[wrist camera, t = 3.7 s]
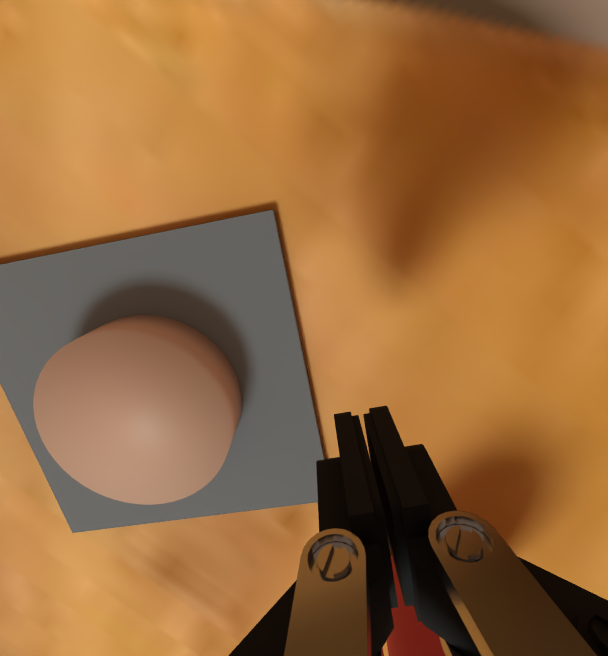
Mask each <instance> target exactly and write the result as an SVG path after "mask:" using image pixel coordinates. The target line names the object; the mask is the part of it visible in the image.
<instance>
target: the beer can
mask: <svg viewBox="0 0 608 656" xmlns="http://www.w3.org/2000/svg"><path fill="white" fill-rule="evenodd" d="M391 562H392V568H393V575H394V582H395V588H396V595H397V601H398V608H391V610H392V616H393V622H394V629H393V631H392V632H391V634H390V636H389V637H388V639H387V646H388V652H389V656H446V655H445V653H444V651H443V648H442V645H441V642H440V639H439V636H438V635H437V634H436V633H434V632H433V631H431V630H430V629H429V628H427V627H426V626H425V625H423V624H422V621H421V622H418V620H417V616H416V613H415V609H414V606H405V604H404V600H403V596H402V592H401V588H400V584H399V581H398V577H397V573H396V569H395V565H394V561H393V557H392V555H391Z"/></svg>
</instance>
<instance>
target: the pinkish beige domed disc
mask: <svg viewBox="0 0 608 656" xmlns="http://www.w3.org/2000/svg"><path fill="white" fill-rule="evenodd" d="M241 408H242V398H241V390H240V385H239V382H238V379H237V376H236V373H235V371H234V369H233V367H232V365H231V363H230V362H229V361H228V359H227V358H226V356H225V355H224V353H223V352H222V351H221V350H220V349H219V348H218V346H217V345H216V344H214V343H213V342H212V341H211V340H210V339H209V338H208V337H206V336H205V335H204V334H202V333H201V332H199V331H198V330H196V329H194V328H192V327H191V326H189V325H187V324H185V323H182V322H180V321H177V320H174V319H170V318H167V317H163V316H155V315H133V316H127V317H123V318H119V319H116V320H113V321H111V322H109V323H106V324H104V325H102V326H100V327H99V328H97V329H95V330H93V331H91V332H89V333H87V334H85V335H83V336H81V337H79V338H77V339H75V340H74V341H72V342H70V343H68V344H67V345H65V346H64V347H62V348H61V349H60V350H58V351H57V352H56V353H55V354H54V355H53V356H52V357H51V358H50V359H49V360H48V362H47V363H46V364H45V366H44V368H43V369H42V371H41V373H40V375H39V377H38V380H37V382H36V386H35V391H34V399H33V409H34V418H35V422H36V426H37V429H38V432H39V434H40V437H41V439H42V441H43V443H44V445H45V447H46V449H47V450H48V452H49V453H50V454H51V456H52V457H53V459H54V460H55V461H56V462H57V463H58V464H59V466H60V467H61V468H62V469H63V470H64V471H65V472H67V473H68V474H69V475H70V476H71V477H72V478H74V479H75V480H76V481H78V482H79V483H80V484H82V485H83V486H85V487H87V488H89V489H90V490H92V491H94V492H96V493H98V494H101V495H103V496H105V497H108V498H111V499H114V500H118V501H122V502H126V503H132V504H143V505H154V504H164V503H169V502H174V501H177V500H180V499H183V498H186V497H188V496H190V495H192V494H194V493H196V492H197V491H199V490H200V489H202V488H203V487H204V486H205V485H207V484H208V483H209V482H210V481H211V480H212V479H213V478H214V477H215V475H216V474H217V473H218V472H219V470H220V468H221V467H222V465H223V463H224V461H225V458H226V456H227V454H228V451H229V448H230V445H231V443H232V440H233V437H234V435H235V432H236V429H237V426H238V424H239V420H240V416H241Z"/></svg>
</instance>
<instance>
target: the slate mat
mask: <svg viewBox="0 0 608 656" xmlns="http://www.w3.org/2000/svg"><path fill="white" fill-rule="evenodd" d="M133 315H155V316H163V317H167V318H170V319H174V320H177V321H180V322H182V323H185V324H187V325H189V326H191V327H192V328H194V329H196V330H198V331H199V332H201V333H202V334H204V335H205V336H206V337H208V338H209V339H210V340H211V341H212V342H213V343H214V344H216V345H217V346H218V348H219V349H220V350H221V351H222V352H223V353H224V355H225V356H226V358H227V359H228V361H229V362H230V363H231V365H232V367H233V369H234V371H235V373H236V376H237V379H238V382H239V385H240V390H241V398H242V408H241V416H240V420H239V424H238V426H237V429H236V432H235V435H234V437H233V440H232V443H231V445H230V448H229V451H228V454H227V456H226V458H225V461H224V463H223V465H222V467H221V468H220V470H219V472H218V473H217V474H216V475H215V477H214V478H213V479H212V480H211V481H210V482H209V483H208V484H207V485H205V486H204V487H203V488H202V489H200V490H199V491H197V492H196V493H194V494H192V495H190V496H188V497H186V498H183V499H180V500H177V501H174V502H169V503H164V504H154V505H143V504H132V503H126V502H122V501H118V500H114V499H111V498H108V497H105V496H103V495H101V494H98V493H96V492H94V491H92V490H90V489H89V488H87V487H85V486H83V485H82V484H80V483H79V482H78V481H76V480H75V479H74V478H72V477H71V476H70V475H69V474H68V473H67V472H65V471H64V470H63V469H62V468H61V467H60V466H59V464H58V463H57V462H56V461H55V460H54V459H53V457H52V456H51V454H50V453H49V452H48V450H47V449H46V447H45V445H44V443H43V441H42V439H41V437H40V434H39V432H38V429H37V426H36V422H35V418H34V409H33V399H34V391H35V386H36V382H37V380H38V377H39V375H40V373H41V371H42V369H43V368H44V366H45V364H46V363H47V362H48V360H49V359H50V358H51V357H52V356H53V355H54V354H55V353H56V352H57V351H58V350H60V349H61V348H62V347H64V346H65V345H67V344H68V343H70V342H72V341H74V340H75V339H77V338H79V337H81V336H83V335H85V334H87V333H89V332H91V331H93V330H95V329H97V328H99V327H100V326H102V325H104V324H106V323H109V322H111V321H113V320H116V319H119V318H123V317H127V316H133ZM0 384H1V386H2V388H3V390H4V392H5V394H6V396H7V398H8V400H9V402H10V404H11V406H12V409H13V411H14V413H15V415H16V417H17V419H18V421H19V423H20V425H21V427H22V429H23V431H24V433H25V435H26V437H27V440H28V442H29V444H30V446H31V448H32V450H33V452H34V454H35V456H36V458H37V460H38V462H39V464H40V466H41V468H42V471H43V473H44V475H45V477H46V479H47V481H48V483H49V485H50V487H51V489H52V491H53V493H54V495H55V497H56V499H57V502H58V504H59V506H60V508H61V510H62V512H63V514H64V516H65V518H66V520H67V522H68V524H69V526H70V528H71V530H72V533H75V532H83V531H91V530H99V529H107V528H115V527H123V526H131V525H139V524H147V523H155V522H163V521H171V520H179V519H187V518H195V517H203V516H211V515H219V514H227V513H235V512H243V511H251V510H259V509H267V508H275V507H283V506H291V505H299V504H307V503H315V502H318V491H317V469H316V461H318V460H324V459H325V458H324V453H323V448H322V443H321V438H320V433H319V428H318V423H317V418H316V413H315V408H314V403H313V399H312V394H311V389H310V384H309V379H308V374H307V369H306V364H305V359H304V354H303V349H302V344H301V340H300V335H299V330H298V325H297V320H296V315H295V310H294V305H293V300H292V295H291V290H290V285H289V281H288V276H287V271H286V266H285V261H284V256H283V251H282V246H281V241H280V236H279V231H278V226H277V222H276V217H275V212H274V210H269V211H264V212H259V213H254V214H249V215H244V216H239V217H234V218H229V219H224V220H219V221H214V222H209V223H204V224H199V225H194V226H189V227H184V228H179V229H174V230H170V231H165V232H160V233H155V234H150V235H145V236H140V237H135V238H130V239H125V240H120V241H115V242H110V243H105V244H100V245H95V246H90V247H85V248H80V249H75V250H70V251H65V252H61V253H56V254H51V255H46V256H41V257H36V258H31V259H26V260H21V261H16V262H11V263H6V264H1V265H0Z"/></svg>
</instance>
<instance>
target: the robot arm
mask: <svg viewBox="0 0 608 656" xmlns="http://www.w3.org/2000/svg"><path fill="white" fill-rule="evenodd" d="M369 412H370V413H368V414H364V422H365V428H366V434H367V441H368V447H369V453H370V457H369V454H368V450H367V446H366V442H365V439H364V435H363V431H362V427H361V424H360V420H359V416H358V415H355V416H352V415H351V412H345V413H339V414H334V419H335V426H336V433H337V440H338V447H339V454H340V457H337V458H330V459H324V460H318V461H316V469H317V491H318V512H319V533H317V534H316V535H314V536H313V537H312V538H311V539H309V541H308V542H307V543H306V545H305V546H304V548H303V551H302V554H301V558H300V564H299V570H298V576H297V580H296V581H295V583H294V584H293V585H292V586H291V587H290V588H289V589H288V590H287V591H286V593H285V594H284V595H283V596H282V597H281V598H280V599H279V600H278V601H277V603H276V604H275V605H274V606H273V607H272V608H271V609H270V610H269V611H268V612H267V614H266V615H265V616H264V617H263V618H262V619H261V620H260V621H259V622H258V624H257V625H256V626H255V627H254V628H253V629H252V630H251V631H250V632H249V634H248V635H247V636H246V637H245V638H244V639H243V640H242V641H241V642H240V644H239V645H238V646H237V647H236V648H235V649H234V650H233V651H232V652H231V654H230V655H229V656H384V654H383V648H382V647H383V645H384V644H385V642H386V640H387V639H388V637H389V636H390V634H391V632H392V631H393V629H394V622H393V616H392V610H391V608H398V601H397V595H396V588H395V582H394V575H393V568H392V562H391V555H390V549H391V553H392V557H393V561H394V565H395V569H396V573H397V577H398V581H399V584H400V588H401V592H402V596H403V600H404V604H405V606H414V609H415V613H416V616H417V620H418V622H421V621H422V624H423V625H425V626H426V627H427V628H429V629H430V630H431V631H433V632H434V633H436V634H437V635H438V636H439V639H440V642H441V645H442V648H443V651H444V653H445V655H446V656H608V600H606V599H603V598H601V597H599V596H597V595H595V594H593V593H591V592H589V591H587V590H585V589H583V588H581V587H579V586H577V585H575V584H573V583H571V582H569V581H567V580H565V579H562V578H560V577H558V576H556V575H554V574H552V573H550V572H548V571H546V570H544V569H542V568H540V567H538V566H536V565H534V564H532V563H530V562H528V561H526V560H524V559H521V558H519V557H517V556H516V554H515V553H514V552H513V551H512V549H511V548H510V547H509V546H508V544H507V543H506V542H505V541H504V539H503V538H502V537H501V536H500V535H499V533H498V532H497V531H496V530H495V528H494V527H493V526H491V525H490V524H489V523H488V522H487V521H486V520H484V519H483V518H481V517H479V516H478V515H475V514H472V513H469V512H464V511H457V509H456V507H455V505H454V503H453V501H452V499H451V497H450V495H449V493H448V492H447V490H446V488H445V486H444V484H443V482H442V480H441V478H440V476H439V474H438V472H437V470H436V468H435V466H434V464H433V462H432V460H431V458H430V457H429V455H428V453H427V451H426V449H425V447H424V445H422V444H419V445H413V446H406V447H404V445H403V442H402V440H401V438H400V435H399V433H398V431H397V428H396V426H395V424H394V421H393V419H392V417H391V414H390V412H389V410H388V407H387V406H381V407H375V408H369ZM370 460H371V461H370ZM388 541H389V542H388ZM389 545H390V549H389Z"/></svg>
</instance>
